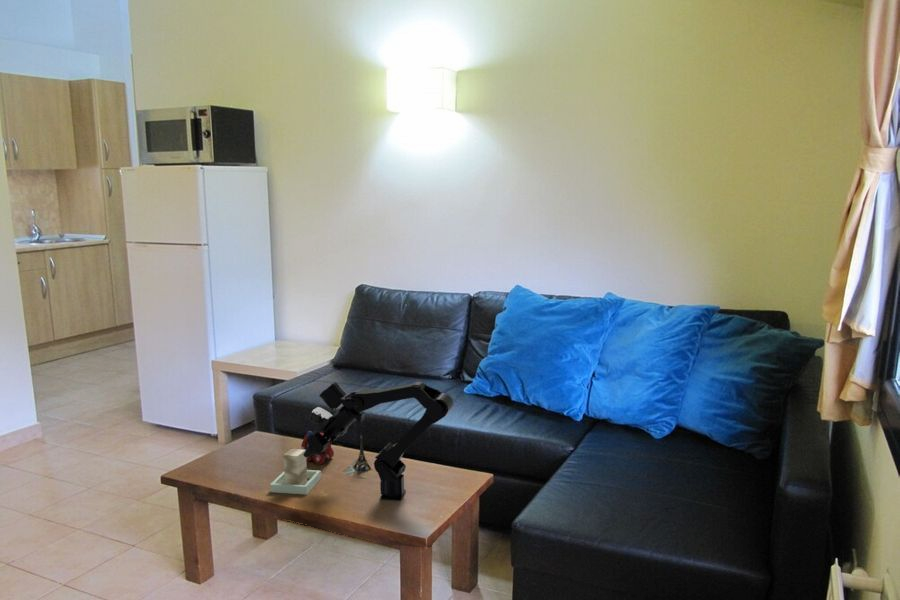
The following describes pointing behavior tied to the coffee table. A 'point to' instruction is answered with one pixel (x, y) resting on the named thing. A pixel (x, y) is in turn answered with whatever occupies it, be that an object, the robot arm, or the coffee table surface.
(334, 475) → the coffee table surface
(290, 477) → the maple block
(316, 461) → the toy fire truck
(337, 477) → the coffee table surface
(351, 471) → the eiffel tower figurine
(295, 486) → the frame
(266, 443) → the coffee table surface
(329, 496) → the coffee table surface
